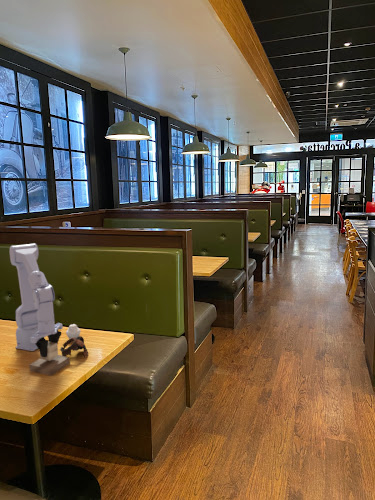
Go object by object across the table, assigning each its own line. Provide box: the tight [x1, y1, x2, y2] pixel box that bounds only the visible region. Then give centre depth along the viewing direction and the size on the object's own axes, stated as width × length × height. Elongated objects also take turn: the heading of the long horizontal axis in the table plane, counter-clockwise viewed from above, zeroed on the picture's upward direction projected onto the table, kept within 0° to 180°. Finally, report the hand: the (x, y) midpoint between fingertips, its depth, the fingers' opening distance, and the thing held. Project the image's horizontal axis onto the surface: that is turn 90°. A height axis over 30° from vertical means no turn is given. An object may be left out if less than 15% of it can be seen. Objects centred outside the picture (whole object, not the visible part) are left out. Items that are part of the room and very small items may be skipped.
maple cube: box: [38, 342, 59, 361], centre depth 140 cm, size 4×4×5 cm
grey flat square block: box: [29, 354, 71, 377], centre depth 141 cm, size 10×10×3 cm
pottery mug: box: [59, 335, 89, 358], centre depth 151 cm, size 12×10×8 cm
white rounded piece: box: [65, 323, 81, 340], centre depth 165 cm, size 6×6×7 cm
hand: (49, 353), depth 140 cm, fingers closed on maple cube, 4 cm apart
